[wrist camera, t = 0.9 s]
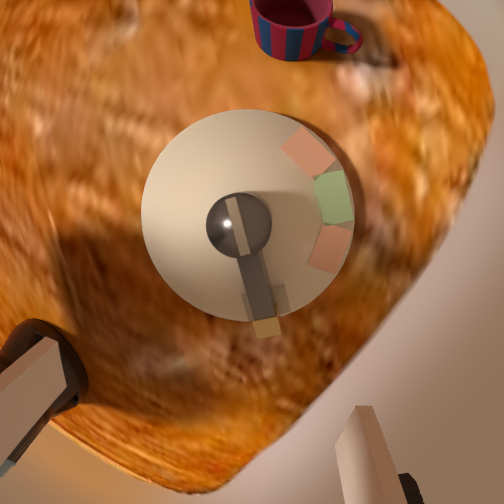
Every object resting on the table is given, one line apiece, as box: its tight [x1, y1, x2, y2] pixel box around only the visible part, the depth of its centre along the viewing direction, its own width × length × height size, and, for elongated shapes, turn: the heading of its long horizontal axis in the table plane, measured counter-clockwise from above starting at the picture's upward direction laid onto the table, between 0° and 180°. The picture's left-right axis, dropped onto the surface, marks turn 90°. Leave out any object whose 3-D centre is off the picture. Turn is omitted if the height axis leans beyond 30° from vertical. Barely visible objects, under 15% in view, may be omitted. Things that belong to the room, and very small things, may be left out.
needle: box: [206, 191, 282, 339], centre depth 25 cm, size 12×5×4 cm, turn 15°
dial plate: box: [141, 109, 355, 321], centre depth 27 cm, size 20×20×2 cm
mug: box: [250, 0, 363, 61], centre depth 20 cm, size 7×10×7 cm
